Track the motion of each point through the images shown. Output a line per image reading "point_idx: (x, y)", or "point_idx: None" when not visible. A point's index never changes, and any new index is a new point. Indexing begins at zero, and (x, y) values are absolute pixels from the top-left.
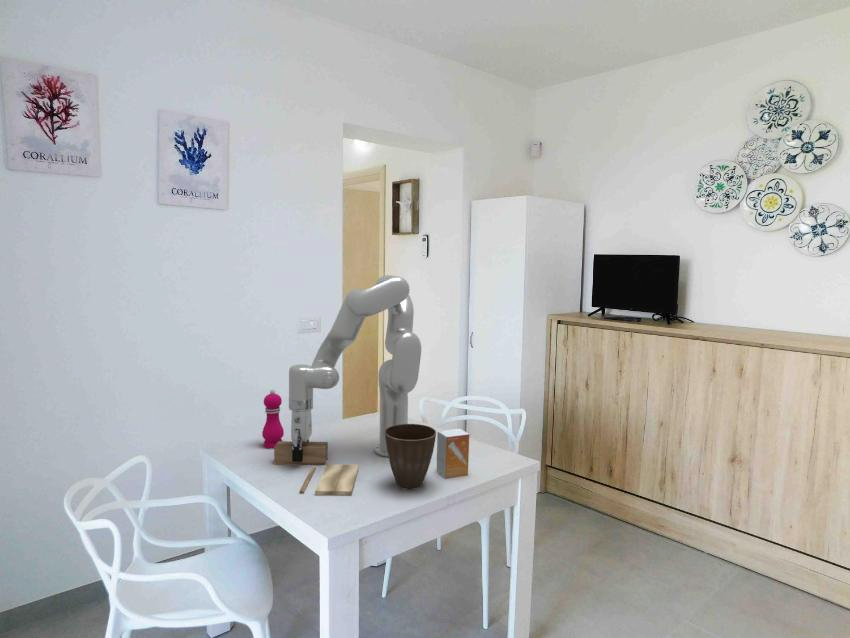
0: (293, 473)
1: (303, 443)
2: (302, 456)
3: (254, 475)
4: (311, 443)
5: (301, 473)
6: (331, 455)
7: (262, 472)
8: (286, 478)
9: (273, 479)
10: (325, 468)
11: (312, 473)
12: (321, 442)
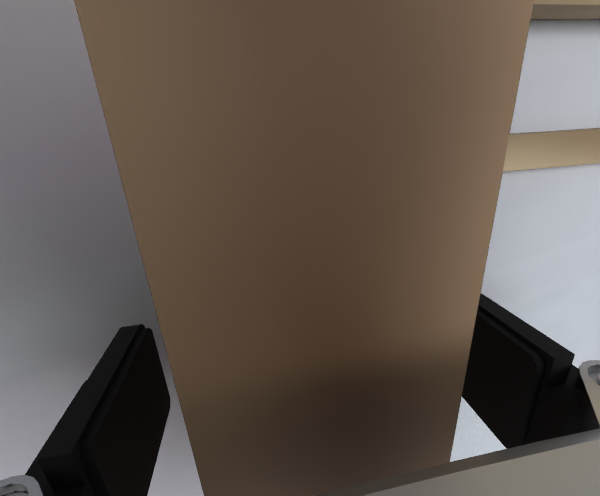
0: (509, 280)
1: (294, 440)
2: (493, 301)
3: (500, 449)
4: (275, 334)
5: (519, 227)
6: (21, 39)
7: (467, 436)
8: (577, 291)
9: (571, 351)
10: (573, 2)
11: (593, 129)
12: (170, 146)
